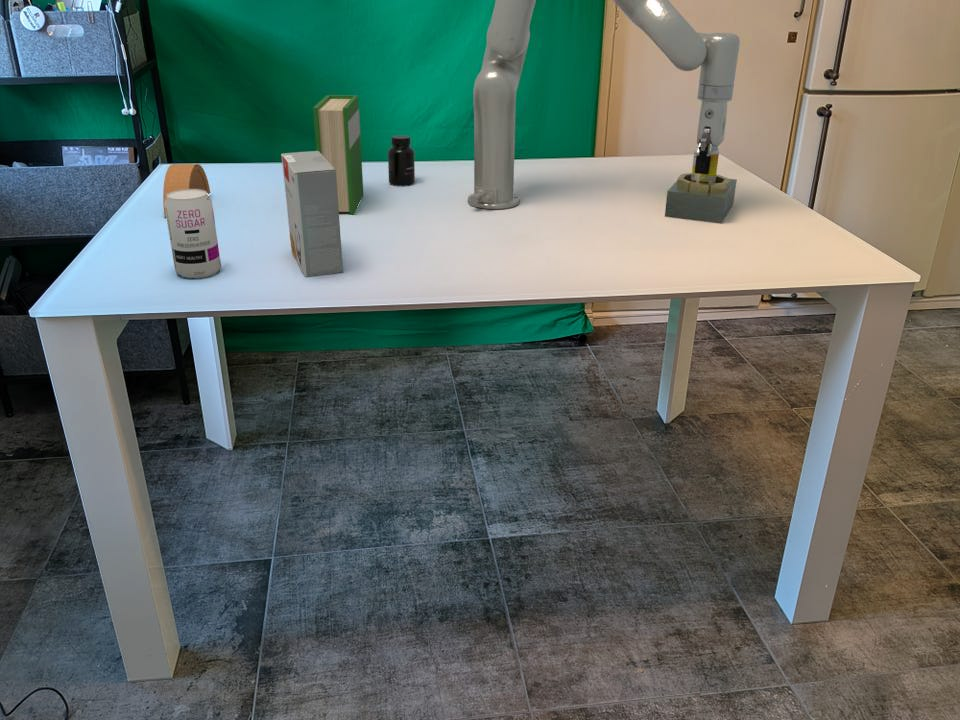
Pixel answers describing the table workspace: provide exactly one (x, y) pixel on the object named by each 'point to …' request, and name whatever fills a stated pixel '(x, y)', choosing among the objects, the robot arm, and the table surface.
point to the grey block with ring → (700, 199)
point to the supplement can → (192, 233)
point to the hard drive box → (313, 212)
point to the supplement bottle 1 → (401, 161)
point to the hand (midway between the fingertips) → (705, 169)
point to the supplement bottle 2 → (711, 176)
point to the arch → (184, 179)
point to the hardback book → (341, 145)
